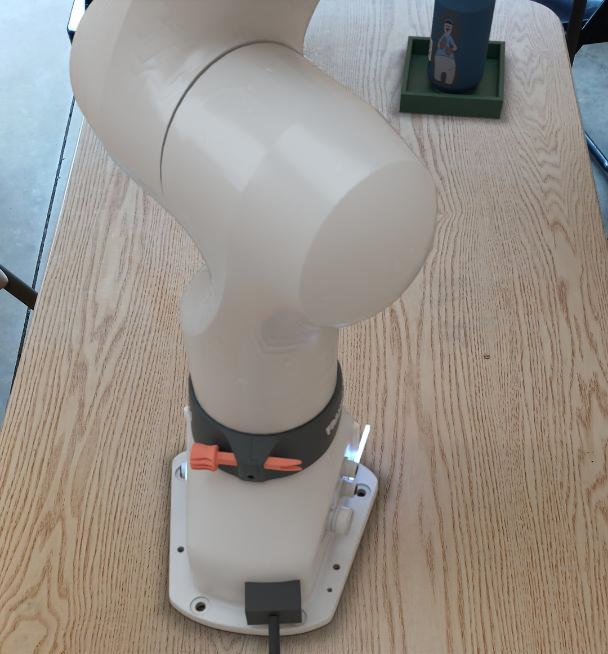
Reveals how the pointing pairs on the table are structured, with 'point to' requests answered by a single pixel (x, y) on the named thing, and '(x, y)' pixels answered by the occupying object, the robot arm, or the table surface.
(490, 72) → the serving tray
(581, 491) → the table surface
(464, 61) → the soda can
